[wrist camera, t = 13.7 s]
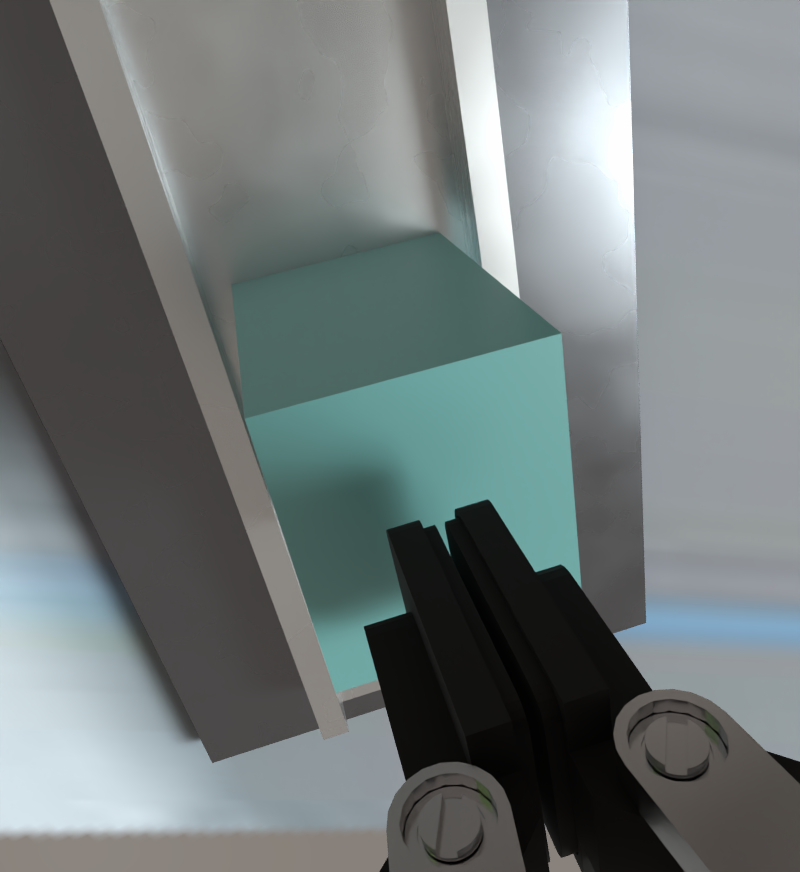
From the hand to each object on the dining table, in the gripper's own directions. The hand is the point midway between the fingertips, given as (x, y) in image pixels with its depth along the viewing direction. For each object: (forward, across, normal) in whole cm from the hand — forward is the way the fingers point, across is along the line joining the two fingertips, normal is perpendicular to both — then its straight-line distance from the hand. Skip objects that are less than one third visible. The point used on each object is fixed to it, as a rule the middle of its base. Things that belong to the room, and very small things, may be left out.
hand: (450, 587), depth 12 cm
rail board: (+10, 0, 0) cm, 10 cm away
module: (+8, 0, 0) cm, 8 cm away
